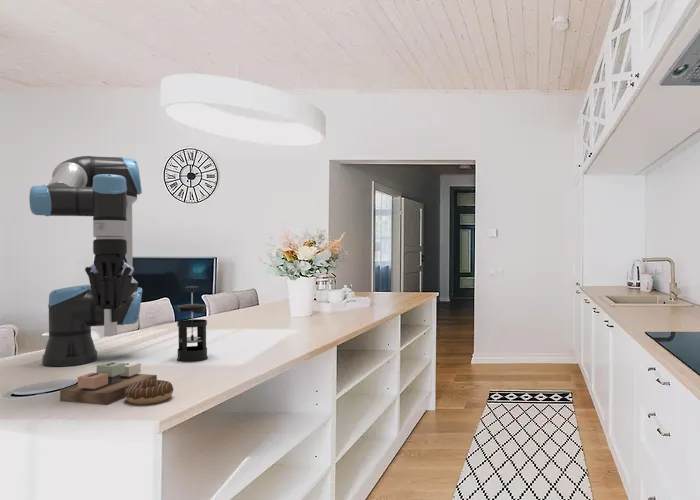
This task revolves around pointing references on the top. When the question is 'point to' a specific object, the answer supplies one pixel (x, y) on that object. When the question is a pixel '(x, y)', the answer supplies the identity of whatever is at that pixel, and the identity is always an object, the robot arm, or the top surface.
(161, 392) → the donut
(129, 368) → the cream key
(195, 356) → the french press
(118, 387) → the keypad
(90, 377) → the terracotta key
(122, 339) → the top surface
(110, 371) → the sage key
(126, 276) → the robot arm
